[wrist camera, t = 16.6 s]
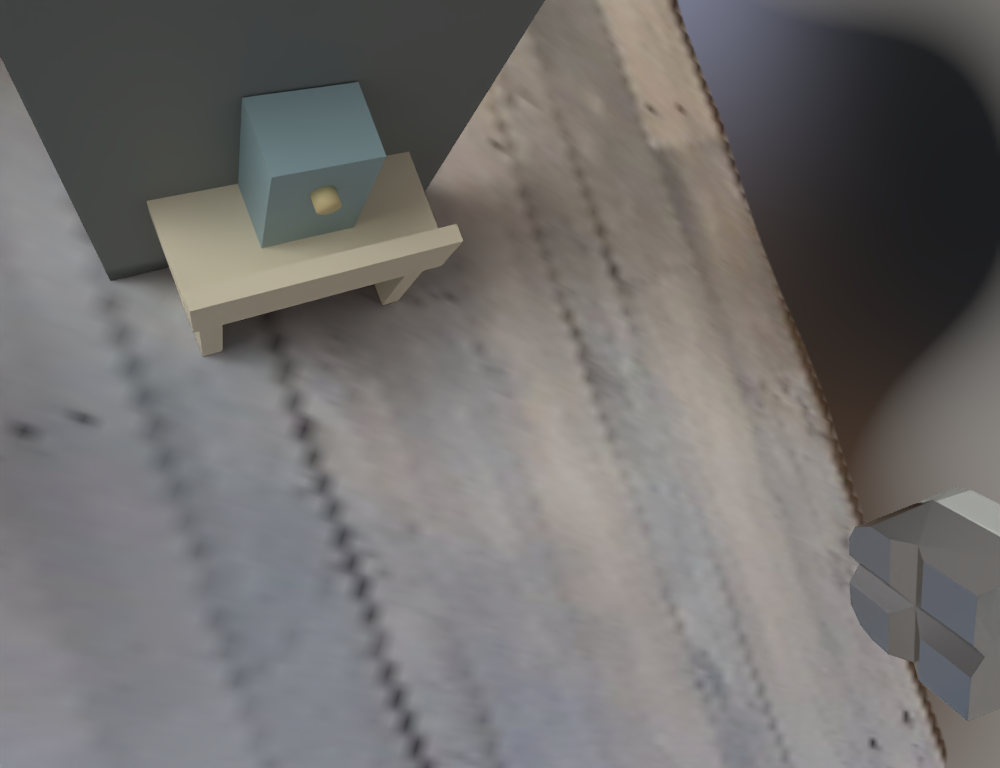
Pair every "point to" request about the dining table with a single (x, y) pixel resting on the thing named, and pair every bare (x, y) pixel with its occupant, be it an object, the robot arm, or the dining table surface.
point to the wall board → (217, 123)
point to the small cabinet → (307, 161)
